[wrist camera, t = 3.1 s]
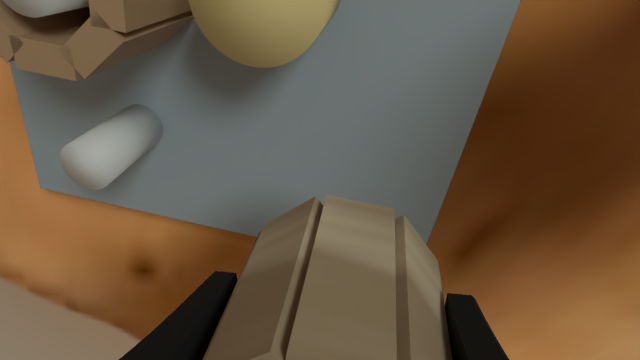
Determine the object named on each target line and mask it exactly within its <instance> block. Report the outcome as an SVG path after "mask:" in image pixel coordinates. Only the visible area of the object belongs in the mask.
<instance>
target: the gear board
mask: <svg viewBox="0 0 640 360" xmlns="http://www.w3.org/2000/svg"><path fill="white" fill-rule="evenodd" d="M520 1H521V0H0V56H1V57H2V58H3V59H4V60H5V61H6V62H7V63H8V62H10V65H11V70H12V74H13V78H14V82H15V86H16V90H17V94H18V98H19V102H20V107H21V111H22V115H23V119H24V123H25V127H26V131H27V135H28V139H29V144H30V148H31V152H32V156H33V160H34V164H35V168H36V172H37V176H38V181H39V185H40V188H42V189H46V190H50V191H55V192H59V193H64V194H68V195H72V196H77V197H81V198H86V199H90V200H94V201H99V202H103V203H108V204H112V205H116V206H121V207H125V208H130V209H134V210H139V211H143V212H147V213H152V214H156V215H161V216H165V217H169V218H174V219H178V220H183V221H187V222H191V223H196V224H200V225H205V226H209V227H213V228H218V229H222V230H227V231H231V232H235V233H240V234H244V235H249V236H253V237H258V234H259V232H260V231H262V229H263V227H264V225H265V224H266V223H268V222H269V221H271V220H273V219H275V218H277V217H279V216H280V215H282V214H284V213H286V212H288V211H289V210H291V209H293V208H295V207H297V206H299V205H300V204H302V203H304V202H306V201H308V200H309V199H311V198H313V197H315V196H316V197H317V199H318V200H319V201H320V202H321V203H322V205H323V206H324V202H325V198H326V195H330V196H335V197H340V198H344V199H349V200H354V201H359V202H364V203H368V204H373V205H378V206H383V207H388V208H392V209H395V219H396V218H398V217H400V216H402V215H405V217H406V218H407V219H408V221H409V222H410V224H411V225H412V226H413V228H414V229H415V230H416V232H417V233H418V234H419V236H420V237H421V239H422V240H423V241H424V243H425V244H426V245H427V242H428V240H429V237H430V234H431V232H432V229H433V227H434V224H435V221H436V219H437V216H438V214H439V211H440V208H441V206H442V203H443V201H444V198H445V195H446V193H447V190H448V188H449V185H450V182H451V180H452V177H453V175H454V172H455V169H456V167H457V164H458V162H459V159H460V157H461V154H462V151H463V149H464V146H465V144H466V141H467V138H468V136H469V133H470V131H471V128H472V125H473V123H474V120H475V118H476V115H477V112H478V110H479V107H480V105H481V102H482V99H483V97H484V94H485V92H486V89H487V87H488V84H489V81H490V79H491V76H492V74H493V71H494V68H495V66H496V63H497V61H498V58H499V55H500V53H501V50H502V48H503V45H504V42H505V40H506V37H507V35H508V32H509V29H510V27H511V24H512V22H513V19H514V16H515V14H516V11H517V9H518V6H519V4H520Z"/></svg>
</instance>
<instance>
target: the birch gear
mask: <svg viewBox="0 0 640 360" xmlns="http://www.w3.org/2000/svg"><path fill="white" fill-rule="evenodd" d="M202 360H453V359H452V353H451V346H450V339H449V332H448V325H447V319H446V312H445V305H444V298H443V291H442V284H441V278H440V271H439V264H438V260H437V259H436V258H435V256H434V255H433V254H432V252H431V251H430V249H429V248H428V247H427V245H426V244H425V243H424V241H423V240H422V239H421V237H420V236H419V234H418V233H417V232H416V230H415V229H414V228H413V226H412V225H411V224H410V222H409V221H408V219H407V218H406V217H405V215H402V216H400V217H398V218H396V219H395V209H392V208H388V207H383V206H378V205H373V204H368V203H364V202H359V201H354V200H349V199H344V198H340V197H335V196H330V195H326V198H325V202H324V206H323V205H322V203H321V202H320V201H319V200H318V199H317V197H316V196H315V197H313V198H311V199H309V200H308V201H306V202H304V203H302V204H300V205H299V206H297V207H295V208H293V209H291V210H289V211H288V212H286V213H284V214H282V215H280V216H279V217H277V218H275V219H273V220H271V221H269V222H268V223H266V224H265V225H264V227H263V229H262V231H260V232H259V234H258V237H257V239H256V241H255V243H254V246H253V248H252V250H251V252H250V255H249V257H248V259H247V261H246V263H245V266H244V268H243V270H242V272H241V275H240V277H239V279H238V281H237V284H236V286H235V288H234V290H233V292H232V295H231V297H230V299H229V301H228V304H227V306H226V308H225V310H224V313H223V315H222V317H221V319H220V322H219V324H218V326H217V328H216V330H215V333H214V335H213V337H212V339H211V342H210V344H209V346H208V348H207V351H206V353H205V355H204V357H203V359H202Z"/></svg>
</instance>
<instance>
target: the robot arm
mask: <svg viewBox="0 0 640 360" xmlns="http://www.w3.org/2000/svg"><path fill="white" fill-rule="evenodd" d="M236 284H237V276H236V273H229V272H218V271H215V272H214V273H213V274H212V275H211V276H210V277H209V278H208V279H207V280H206V281H205V282H204V283H203V284H202V285H200V286H199V287H198V288H197V289H196V290H195V291H194V292H193V293H192V294H191V295H190V296H189V297H188V298H187V299H186V300H185V301H184V302H183V303H182V304H181V305H180V306H179V307H178V308H177V309H176V310H175V311H174V312H173V313H172V314H170V315H169V316H168V317H167V318H166V319H165V320H164V321H163V322H162V323H161V324H160V325H159V326H158V327H156V328H155V329H154V330H153V331H152V332H151V333H150V334H149V335H147V336H146V337H145V338H144V339H143V340H142V341H140V342H139V343H138V344H137V345H136V346H135V347H134V348H132V349H131V350H130V351H129V352H128V353H126V354H125V355H124V356H123V357H122V358H120V359H119V360H202V359H203V357H204V355H205V353H206V351H207V348H208V346H209V344H210V342H211V339H212V337H213V335H214V333H215V330H216V328H217V326H218V324H219V322H220V319H221V317H222V315H223V313H224V310H225V308H226V306H227V304H228V301H229V299H230V297H231V295H232V292H233V290H234V288H235V286H236ZM445 312H446V319H447V325H448V332H449V339H450V346H451V353H452V359H453V360H509V359H508V357H507V355H506V354H505V352H504V351H503V349H502V347H501V346H500V344H499V342H498V340H497V339H496V337H495V335H494V334H493V332H492V330H491V328H490V327H489V325H488V323H487V321H486V319H485V317H484V315H483V314H482V312H481V310H480V308H479V306H478V304H477V302H476V300H475V298H474V297H473V296H471V295H461V294H450V293H447V298H446V303H445Z"/></svg>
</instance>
